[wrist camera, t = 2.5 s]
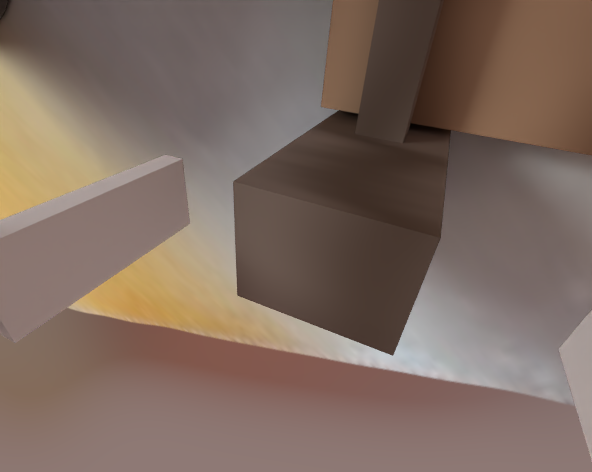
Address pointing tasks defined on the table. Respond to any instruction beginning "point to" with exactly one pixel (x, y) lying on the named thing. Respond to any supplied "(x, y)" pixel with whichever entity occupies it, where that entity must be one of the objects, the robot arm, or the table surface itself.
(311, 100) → the table surface
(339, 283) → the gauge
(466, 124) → the board
